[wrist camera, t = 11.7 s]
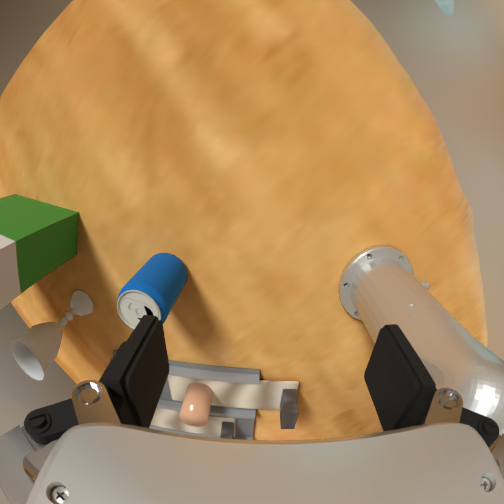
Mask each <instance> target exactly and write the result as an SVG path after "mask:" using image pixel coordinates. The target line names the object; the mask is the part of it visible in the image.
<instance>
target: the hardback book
mask: <svg viewBox="0 0 504 504" xmlns="http://www.w3.org/2000/svg"><path fill="white" fill-rule="evenodd" d="M78 216H79V212H75V211H72V210H68V209H65V208H61V207H58V206H54V205H51V204H47V203H44V202H40V201H37V200H33V199H30V198H26V197H23V196H20V195H16V194H13V195H10V196H7V197H4V198H1V199H0V309H2V308H3V307H4V306H5V305H7V304H8V303H9V302H11V301H12V300H13V299H14V298H16V297H17V296H18V295H20V294H21V293H22V292H24V291H25V290H26V289H28V288H29V287H30V286H32V285H33V284H34V283H36V282H37V281H39V280H40V279H41V278H43V277H44V276H46V275H47V274H48V273H50V272H51V271H53V270H54V269H56V268H57V267H59V266H60V265H61V264H63V263H64V262H66V261H67V260H69V259H70V258H72V257H73V256H75V255H76V254H77V232H78Z"/></svg>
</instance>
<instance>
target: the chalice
mask: <svg viewBox="0 0 504 504" xmlns="http://www.w3.org/2000/svg"><path fill="white" fill-rule="evenodd" d="M70 308H71V311H70V312H68V311H67V312H66V313H65V317H61V318H60V321H59V323H58V324H57V323H56V322H47V323H41V324H38V325H35V326H32V327H31V328H30V329H29V330H28V331H27V332H26V333H25V334H24V335H23V336H22V337H21V338H20V339H19V340H13V341H12V342H11V351H12V354H13V356H14V358H15V360H16V361H17V363H18V364H19V366H20V367H21V368H22V369H23V370H24V371H25V372H26V373H27V374H28V375H29V376H31V377H32V378H34V379H36V380H42V379H43V377H44V373H45V370H46V369H47V368H48V367H49V365H50V364H51V363H52V362H53V360H54V359H55V358H56V356H57V354H58V351H59V348H60V344H61V339H62V329H61V327H63V326H66V325H67V322H68V321H69V320H73V315H74V314H76V315H78V316H84V315H88V314H91V313H92V311H93V303H92V300H91V299H90V297H89V296H88V295H87V294H86V293H85V292H83V291H80V290H78V291H75V292H74V293H73V295H72V298H71V301H70Z"/></svg>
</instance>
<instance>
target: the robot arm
mask: <svg viewBox="0 0 504 504" xmlns="http://www.w3.org/2000/svg"><path fill="white" fill-rule="evenodd" d="M368 254H369V255H368ZM367 255H368V256H367ZM345 283H346V284H345ZM429 287H430V283H429V281H419V280H418V279H417V278H416V277H415V276H414V275H413V269H412V265H411V263H410V261H409V260H408V258H407V257H406V256H405V255H404V254H403V253H402V252H401V251H399V250H397V249H396V248H393V247H390V246H375V247H372V248H369V249H366V250H364V251H363V252H361V253H359V254H358V255H357V256H356V257H354V258H353V259H352V260H351V262H350V263H349V264H348V265H347V267H346V268H345V270H344V272H343V274H342V276H341V280H340V284H339V295H340V300H341V302H342V305H343V306H344V308H345V310H346V311H347V312H348V313H349V314H350V315H351V316H352V317H354V318H356V319H358V320H362V321H363V323H364V325H365V327H366V329H367V330H368V332H369V334H370V336H371V338H372V340H373V342H374V344H375V346H374V349H373V352H372V354H371V357H370V360H369V363H368V365H367V368H366V371H365V375H364V378H365V382H366V384H367V387H368V390H369V392H370V395H371V398H372V400H373V403H374V406H375V409H376V411H377V414H378V417H379V420H380V423H381V425H382V428H381V429H380V430H379V431H377V432H376V433H372V434H365V435H358V436H350V437H340V438H329V439H315V440H288V441H267V440H240V439H225V438H214V437H205V436H197V435H189V434H182V433H175V432H168V431H162V430H157V429H151V428H149V427H150V424H151V422H152V419H153V416H154V413H155V410H156V407H157V405H158V402H159V399H160V396H161V394H162V391H163V388H164V385H165V383H166V380H167V377H168V375H169V362H168V356H167V350H166V344H165V338H164V331H163V324H162V321H161V320H158V317H157V316H151V315H143V317H142V318H141V320H140V321H139V323H138V324H137V326H136V328H135V329H134V331H133V332H132V334H131V335H130V337H129V339H128V340H127V342H123V343H122V345H121V346H120V348H119V349H118V351H117V352H116V354H115V356H114V357H113V359H112V360H111V362H110V364H109V365H108V367H107V369H106V370H105V372H104V373H103V375H102V377H101V378H100V380H99V381H96V380H85V381H82V382H80V383H78V384H77V385H76V386H75V387H74V388H73V390H72V393H71V396H72V398H71V399H68V400H65V401H62V402H59V403H56V404H53V405H50V406H46V407H43V408H40V409H36V410H34V411H32V412H30V413H29V414H28V415H27V417H26V418H25V421H24V426H23V427H20V426H19V425H18V426H16V427H15V428H13V429H12V430H10V431H8V432H7V433H5V434H4V435H2V436H0V487H1V489H2V491H3V492H4V494H5V496H6V497H7V499H8V501H9V502H10V504H504V361H503V360H502V359H500V358H499V357H498V356H497V355H495V354H494V353H493V352H492V351H490V350H489V349H488V348H486V347H485V346H484V345H483V344H482V343H480V342H479V341H478V340H477V339H476V338H475V337H473V336H472V335H471V334H470V333H469V332H468V331H467V330H466V329H465V328H464V327H463V326H462V325H461V324H460V323H459V322H458V321H457V320H456V319H455V318H454V317H453V316H452V315H451V314H450V313H449V312H448V311H447V310H446V309H445V308H444V307H443V306H442V305H441V304H440V303H439V302H438V301H437V300H436V299H435V298H434V297H433V296H432V295H431V294H430V293H429V292H428V291H427V290H428V289H429Z"/></svg>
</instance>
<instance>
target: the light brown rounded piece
mask: <svg viewBox="0 0 504 504" xmlns="http://www.w3.org/2000/svg"><path fill="white" fill-rule="evenodd" d="M212 397H213V391H212V389H211V388H210V387H209V386H207V385H206V384H203V383H191V384H189V385H188V387H187V390H186V393H185V397H184V400H183V404H182V407H181V411H180V414H179V417H180V419H181V420H182V421H183V422H184V423H185V424H187V425H190V426H194V427H201V426H205V425H206V424H207V422H208V417H209V412H210V407H211V402H212Z"/></svg>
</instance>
